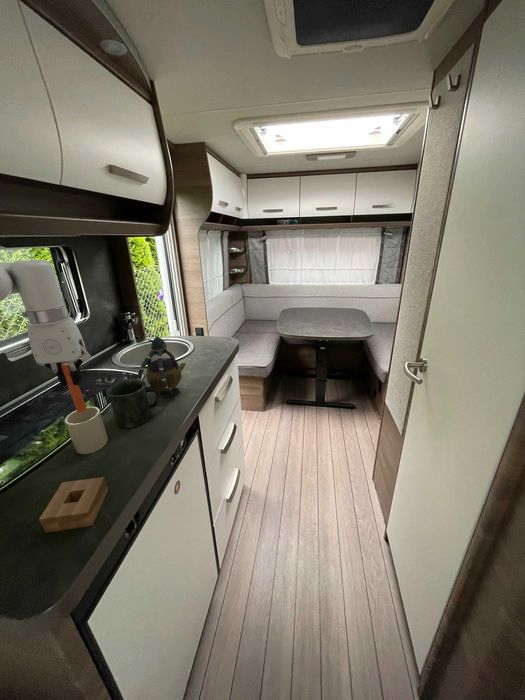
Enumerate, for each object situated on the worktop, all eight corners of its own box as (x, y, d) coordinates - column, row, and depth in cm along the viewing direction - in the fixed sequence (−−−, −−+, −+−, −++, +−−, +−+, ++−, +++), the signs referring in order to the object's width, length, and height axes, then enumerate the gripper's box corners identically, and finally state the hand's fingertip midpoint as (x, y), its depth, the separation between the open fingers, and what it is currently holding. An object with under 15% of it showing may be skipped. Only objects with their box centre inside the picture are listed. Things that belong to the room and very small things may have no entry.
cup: (70, 456, 76) (58, 426, 72) (83, 436, 83) (73, 408, 80) (101, 452, 77) (92, 422, 73) (112, 432, 84) (104, 405, 81)
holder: (45, 533, 56) (38, 519, 55) (67, 494, 64) (62, 482, 63) (92, 525, 57) (87, 512, 56) (108, 489, 65) (104, 476, 64)
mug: (118, 413, 94) (109, 382, 89) (163, 404, 98) (157, 374, 93) (112, 433, 84) (102, 399, 80) (162, 422, 88) (156, 390, 84)
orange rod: (75, 413, 75) (58, 366, 69) (79, 408, 77) (63, 362, 71) (84, 412, 75) (68, 365, 69) (87, 407, 77) (72, 362, 71)
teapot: (140, 407, 97) (125, 345, 88) (172, 373, 120) (162, 322, 111) (172, 409, 95) (160, 346, 86) (198, 375, 118) (191, 322, 109)
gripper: (0, 322, 61) (30, 394, 68) (77, 317, 63) (99, 387, 70) (22, 313, 68) (47, 379, 75) (91, 308, 70) (109, 373, 77)
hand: (72, 382), depth 72 cm, fingers closed on orange rod, 2 cm apart
